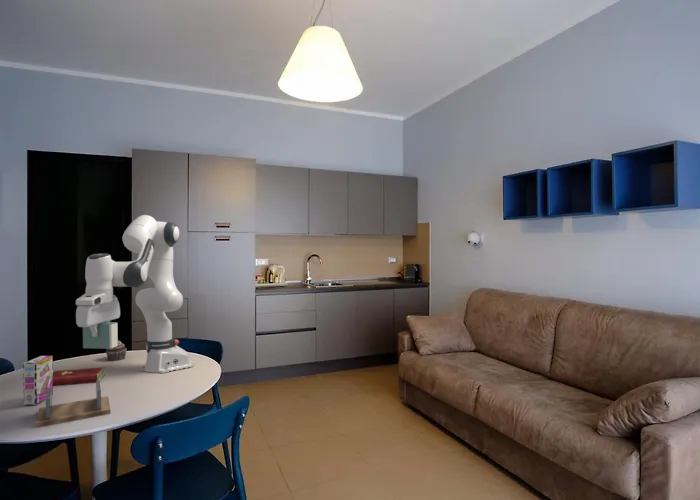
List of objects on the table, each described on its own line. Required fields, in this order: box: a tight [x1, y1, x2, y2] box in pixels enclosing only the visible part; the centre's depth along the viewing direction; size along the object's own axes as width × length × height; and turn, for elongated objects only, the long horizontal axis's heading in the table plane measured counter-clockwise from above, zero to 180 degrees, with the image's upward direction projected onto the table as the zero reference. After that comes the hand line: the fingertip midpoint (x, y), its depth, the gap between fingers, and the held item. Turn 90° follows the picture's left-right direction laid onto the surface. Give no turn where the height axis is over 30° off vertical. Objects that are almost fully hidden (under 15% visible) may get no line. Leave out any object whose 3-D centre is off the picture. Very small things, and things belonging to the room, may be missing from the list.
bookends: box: [45, 380, 102, 420], centre depth 160 cm, size 16×13×7 cm
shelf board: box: [35, 395, 111, 428], centre depth 160 cm, size 22×16×2 cm
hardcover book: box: [53, 366, 107, 387], centre depth 197 cm, size 12×21×4 cm, turn 105°
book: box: [82, 321, 119, 350], centre depth 163 cm, size 4×11×9 cm, turn 85°
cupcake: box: [105, 339, 127, 362], centre depth 231 cm, size 10×10×10 cm
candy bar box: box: [22, 355, 54, 407], centre depth 172 cm, size 11×5×16 cm, turn 5°
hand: (100, 334), depth 163 cm, fingers closed on book, 3 cm apart
